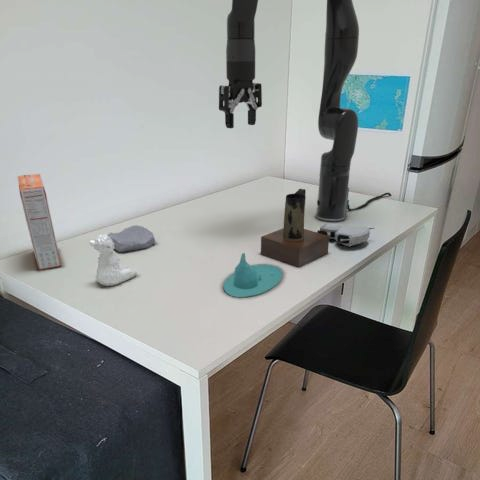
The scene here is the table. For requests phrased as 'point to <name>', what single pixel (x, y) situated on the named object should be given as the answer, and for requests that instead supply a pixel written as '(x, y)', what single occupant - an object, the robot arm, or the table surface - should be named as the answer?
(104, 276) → the sitting furry creature
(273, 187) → the table surface
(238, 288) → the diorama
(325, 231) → the robot toy
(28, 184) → the cracker box
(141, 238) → the stone block
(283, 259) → the walnut block
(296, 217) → the mug
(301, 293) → the table surface
